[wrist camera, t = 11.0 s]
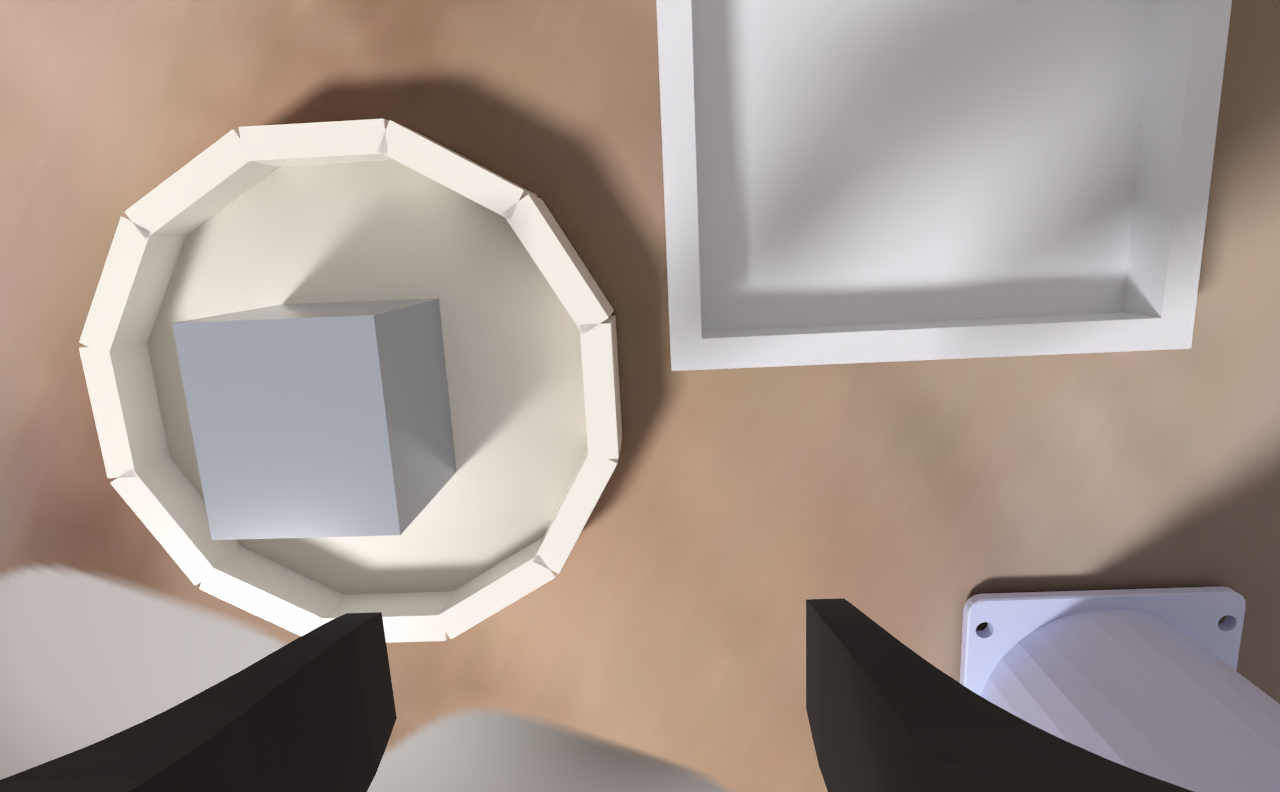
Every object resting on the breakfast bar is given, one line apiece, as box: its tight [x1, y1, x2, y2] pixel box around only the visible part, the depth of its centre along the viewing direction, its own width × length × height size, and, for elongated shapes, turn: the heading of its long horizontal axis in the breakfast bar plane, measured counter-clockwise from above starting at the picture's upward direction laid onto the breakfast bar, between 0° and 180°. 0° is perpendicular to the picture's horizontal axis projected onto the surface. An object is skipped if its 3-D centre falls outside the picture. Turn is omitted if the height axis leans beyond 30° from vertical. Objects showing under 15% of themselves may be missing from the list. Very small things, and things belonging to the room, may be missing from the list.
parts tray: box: [656, 0, 1232, 371], centre depth 18 cm, size 13×13×2 cm
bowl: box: [79, 119, 623, 642], centre depth 20 cm, size 14×14×2 cm
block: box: [172, 298, 456, 540], centre depth 18 cm, size 5×4×4 cm
